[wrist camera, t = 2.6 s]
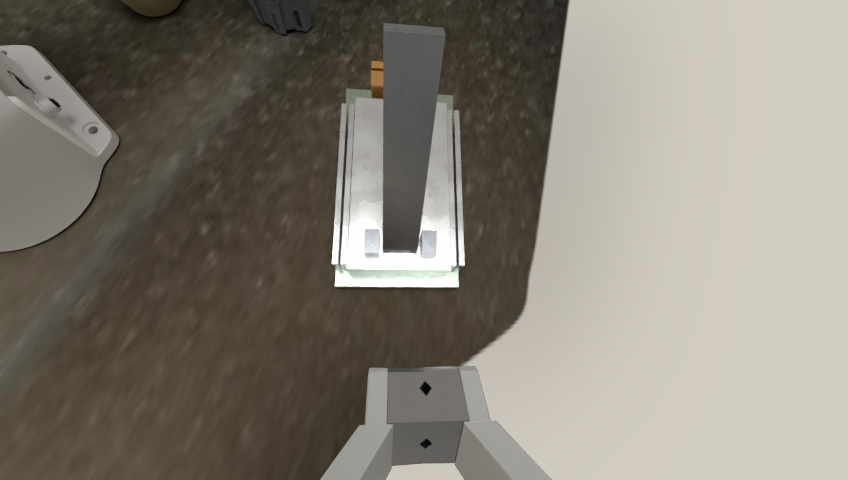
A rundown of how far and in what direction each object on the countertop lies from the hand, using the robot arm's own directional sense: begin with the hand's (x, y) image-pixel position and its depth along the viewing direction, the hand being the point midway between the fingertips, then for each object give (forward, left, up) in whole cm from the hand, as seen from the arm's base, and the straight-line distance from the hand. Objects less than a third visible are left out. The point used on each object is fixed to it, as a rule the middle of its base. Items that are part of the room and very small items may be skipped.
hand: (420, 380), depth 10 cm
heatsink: (-14, +9, -25) cm, 30 cm away
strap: (-10, +7, -11) cm, 17 cm away
